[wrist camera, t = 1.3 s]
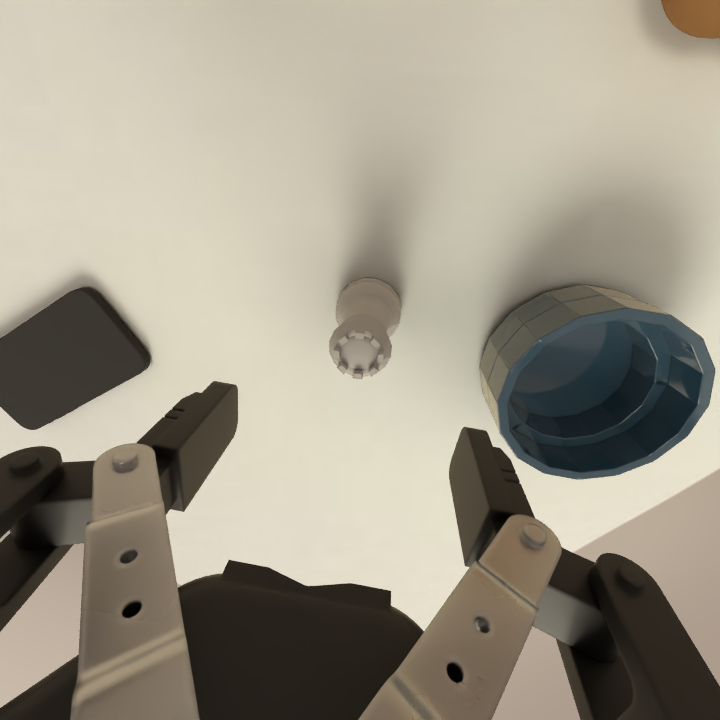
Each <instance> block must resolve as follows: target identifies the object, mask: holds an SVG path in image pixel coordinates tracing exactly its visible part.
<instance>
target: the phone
mask: <svg viewBox="0 0 720 720" xmlns="http://www.w3.org/2000/svg"><path fill="white" fill-rule="evenodd" d="M149 365H150V358H149V356H148V354H147V352H146V351H145V350H144V348H143V347H142V346H141V345H140V343H139V342H138V341H137V340H136V339H135V337H134V336H133V335H132V334H131V332H130V331H129V330H128V329H127V328H126V326H125V325H124V324H123V323H122V322H121V320H120V319H119V318H118V317H117V316H116V314H115V313H114V312H113V311H112V309H111V308H110V307H109V306H108V305H107V303H106V302H105V301H104V300H103V299H102V297H101V296H100V295H99V294H98V293H96V292H95V291H94V290H92V289H90V288H79V289H76V290H73V291H71V292H69V293H67V294H66V295H64V296H63V297H61V298H60V299H59V300H57V301H56V302H54V303H53V304H51V305H50V306H48V307H47V308H45V309H44V310H42V311H41V312H39V313H38V314H36V315H35V316H33V317H32V318H30V319H29V320H28V321H26V322H25V323H23V324H22V325H20V326H19V327H17V328H16V329H14V330H13V331H11V332H10V333H8V334H7V335H5V336H4V337H2V338H1V339H0V407H1V408H2V409H3V410H4V411H5V412H7V413H8V414H9V415H10V416H11V417H12V418H13V419H14V420H15V421H16V422H17V423H18V424H20V425H21V426H22V427H24V428H26V429H30V430H36V429H38V428H41V427H42V426H44V425H46V424H48V423H51V422H53V421H54V420H55V419H58V418H60V417H62V416H64V415H66V414H67V413H69V412H71V411H73V410H75V409H77V408H78V407H79V406H81V405H83V404H85V403H87V402H89V401H90V400H92V399H94V398H96V397H98V396H100V395H101V394H103V393H105V392H107V391H109V390H111V389H112V388H114V387H116V386H118V385H120V384H122V383H124V382H125V381H127V380H129V379H131V378H133V377H135V376H136V375H138V374H140V373H141V372H143V371H144V370H145V369H147V368H148V366H149Z"/></svg>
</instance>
